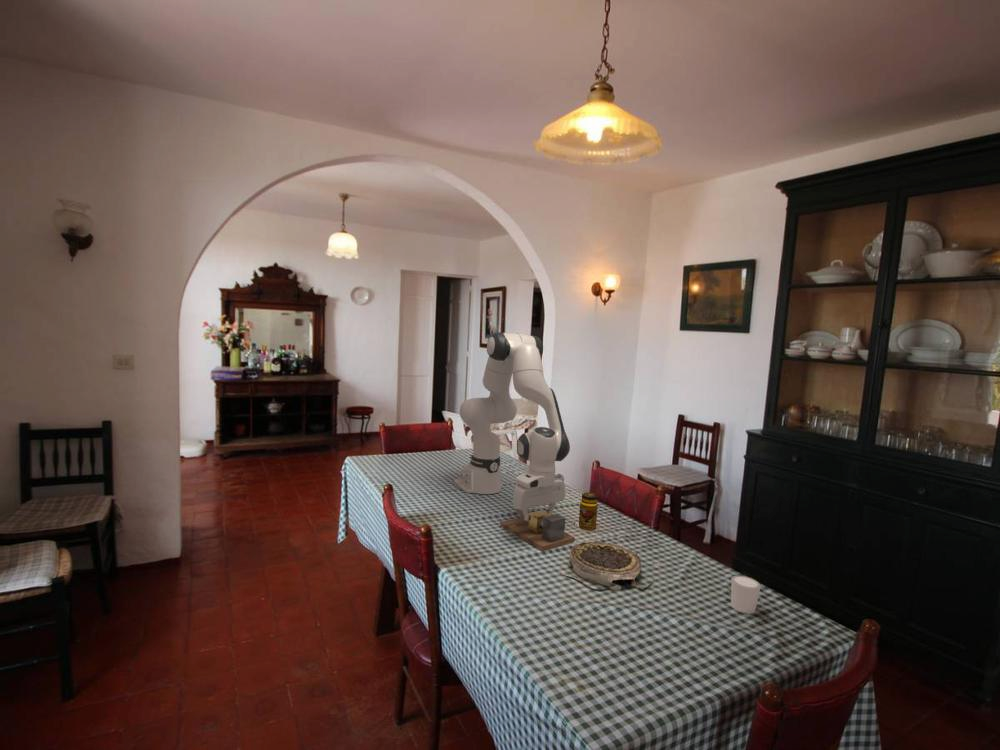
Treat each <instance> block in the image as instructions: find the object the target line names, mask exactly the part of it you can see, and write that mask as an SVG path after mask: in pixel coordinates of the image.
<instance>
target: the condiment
mask: <svg viewBox="0 0 1000 750" xmlns="http://www.w3.org/2000/svg"><path fill="white" fill-rule="evenodd" d="M598 505H599V504H598V496H597V494H595V493H593V492H584V493H582V494H581V500H580V503H579V514H578V522H579V528H580V529H579V528H578V529H579V530H580V531H581V532H582V533H584V532H585V533H586V532H588V533H589V532H597V531H601V528H599V527H598V528H596V526H597V518H598V517H597V516H598ZM574 522H575V524H574ZM576 522H577V521H573V522H572V524H573V525H574V526H575V527H577V526H576V525H577V524H576ZM581 529H582V530H581ZM596 529H597V530H596Z"/></svg>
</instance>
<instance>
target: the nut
mask: <svg viewBox="0 0 1000 750" xmlns="http://www.w3.org/2000/svg"><path fill="white" fill-rule="evenodd" d="M529 515H531V520H529V529H530V530H532V531H533V532H535V533H539V532H542V527H541V526H540V523H541V521H543V517H546V516H550V514H549V513H547V512H546V510H543V509H540V510H536V511H533V512H529Z"/></svg>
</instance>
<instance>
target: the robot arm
mask: <svg viewBox="0 0 1000 750" xmlns="http://www.w3.org/2000/svg"><path fill="white" fill-rule="evenodd" d="M486 352H487V355H488V357H487V362H486V364H485V367H484V374H483V376H482V377H483V378H482V384H483V387H484V388H485V390H487V391H488V392H489V396H488V397H474V398H473V397H472V398H469V399H466V400H464V401H462V403H461V405H460V406H459V407H460V408H459V416H460V419H461V420H462V421H463V422H464V424H466V425H467V427H469V430H470V431H471V434H472V439H473V445H472V446H473V448H472V449H473V450H472V451H473V452H472V454H471V455H469V457H468V459H470V461H469V463H468V464H467V465H465V466H464V467H462V468H461V470H460V473H459V477H457V478H456V479H455V478H454V480H453V483H454V484H456V486H458V487H459V488H460V489H461V490H463V491H464V492H465V493H468V494H469V493H470V494H478V495H479V494H480V495H493V494H498V493H500V492H501V491H502V488H503V486H504V484H503V483H502V469H501V467H500V465H501V456H500V453H501V452H500V451H501V450H500V449H501V439H500V437H499V436H498V434H496V433H494V431H492V430H491V425H493V424H505V423H507V422H511V421H512V420H514V419H515V417H516V416H517V413H518V412H517V411H518V410H517V409H518V408H517V407H518V406H517V404H516V402H515V401H514V399H513V398H512V397H511V395H510V387H511V386H510V385H511V381H512V384H513V388H514V390H515V392H517V394H518V395H519V396H520V397H522V398H524V399H526V400H528V401H529V402H533V403H535V404H538V405H539V406H540V407H541V408H542V409H543V410H544V411H545V415H546V420H547V422H548V423H547V424H548V427H545V426H544V427H543V426H538V427H536V428H534V429H533V430H532V431H529V432H525V433H522V434H521V435H520V436H519V437H518V439H517V441H516V454H517V455H518V456H519V457H520V458H521V459H522V460H523V461H527V462H528V461H529V466H528V469H527V470H526V471H524V472H523V473H520V475H517V476H516V478H515V483H516V485H515V487H514V489H513V497H512V505H513V507H515V509H516V510H517V509H519V510H522V511H523V513H524V519H525V520H526V521H529V520H531V515H529V514H530V509H531V508H532V509H533V508H537V507H541V506H545V505H548V507H547V508H546V509H545V512H547V513H549V514H550V515H553V511H554V509H555V507H556V504H557V503H558V502H563V501H564V500H565V497H566V490H565V489H566V488H565V476H564V475H563V474H561V473H557V474H556V464H555V463H556V462H562V461H563V460H564V459H566V457H567V456H568V455H569V454H570V449H571V448H570V447H571V444H570V439H569V438H568V436H567V433H566V430H565V427H564V423H563V420H562V415H561V412H560V407H559V402H558V400H557V396H556V394H555V393H556V392H555V391H554V390H553V388H551V387H549V385H548V383H547V381H546V378H545V375H544V367H543V362H542V356H543V354H544V353H543V352H544V343H543V341H542V339H541V338H540V337H538V336H535V335H534V334H533V335H532V334H525V333H519V332H501V331H500V332H498V331H497V332H493V333H492V334H490V335H489V337H488V338H487V343H486Z"/></svg>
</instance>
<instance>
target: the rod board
mask: <svg viewBox="0 0 1000 750" xmlns="http://www.w3.org/2000/svg"><path fill="white" fill-rule="evenodd" d="M515 512H516V515H519V516H520V517H516V518H513V519H512V518H511V519H508V520H504V521H500V524H499V526H501V527H500V528H502V527H503V528H505V529H506V530H505V529H504V530H505V531H507V530H508V531H507V532H509V533H510V532H511V533H510V534H512V533H513V535H514V534H515V535H516V537H517V536H518V537H517V538H519V539H521V540H523V541H524V542H526V543H528V544H529V545H531V546H533V547H534V548H536V549H538V550H539V551H541V552H546V551H548V550H551V549H555V548H559V547H561V546H565V545H568V544H572V543H576V542H575V538H576V537H575V536H574V535H571V534H569V533H567V532H566V531H565V529H566V526H565V525H566V517H564V516H562V515H560V514H558V513H554V514H552V515H550V516H546V517H543V521H541V523H540V526H541V527H542V532H539V533H535V532H533V531H532V530H530V529H529V521H526V520H525V519H524V513H523V511H522V510H519V509H517V508H516V511H515ZM503 528H502V529H503ZM515 535H514V536H515Z"/></svg>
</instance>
